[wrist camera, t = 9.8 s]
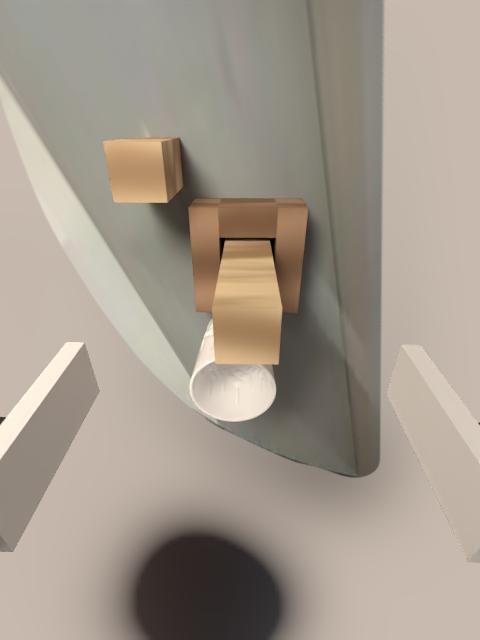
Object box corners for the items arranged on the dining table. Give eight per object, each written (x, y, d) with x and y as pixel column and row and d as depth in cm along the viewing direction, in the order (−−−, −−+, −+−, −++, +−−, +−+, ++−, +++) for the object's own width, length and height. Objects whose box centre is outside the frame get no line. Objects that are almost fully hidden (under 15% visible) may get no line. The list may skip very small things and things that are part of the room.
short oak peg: (133, 137, 29) (102, 141, 23) (179, 137, 29) (161, 141, 23) (140, 186, 31) (114, 202, 25) (183, 186, 31) (167, 202, 25)
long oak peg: (227, 229, 33) (212, 308, 19) (267, 230, 33) (282, 308, 19) (228, 268, 35) (215, 364, 21) (266, 268, 35) (278, 364, 21)
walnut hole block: (194, 198, 31) (188, 207, 28) (301, 198, 31) (308, 208, 28) (201, 294, 36) (196, 312, 33) (292, 294, 36) (297, 312, 33)
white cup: (247, 289, 36) (248, 342, 27) (281, 341, 39) (291, 403, 31) (188, 321, 38) (171, 379, 30) (225, 368, 42) (220, 432, 33)
